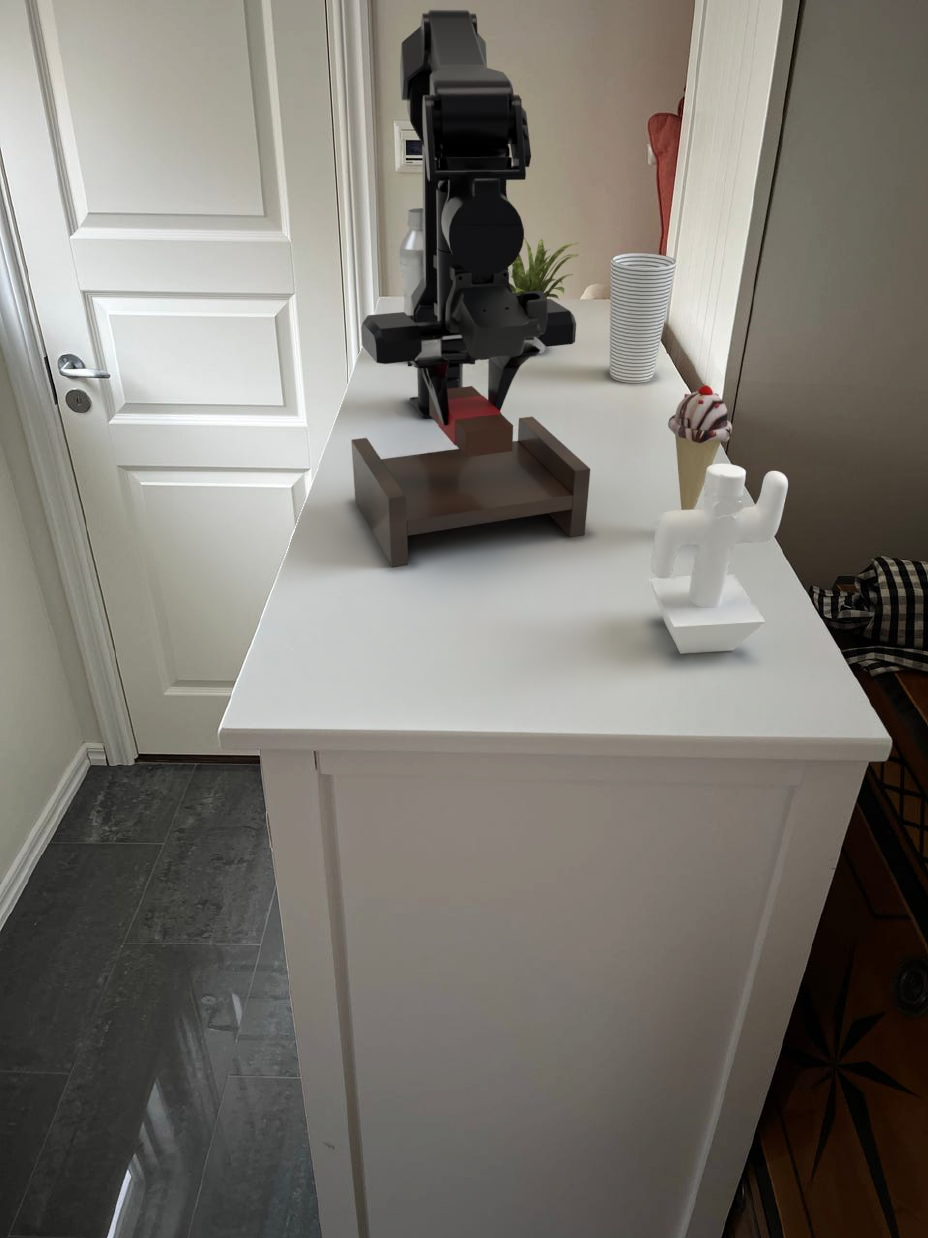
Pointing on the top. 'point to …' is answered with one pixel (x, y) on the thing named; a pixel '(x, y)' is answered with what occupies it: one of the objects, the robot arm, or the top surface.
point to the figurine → (713, 560)
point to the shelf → (469, 488)
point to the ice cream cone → (698, 440)
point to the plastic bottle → (412, 256)
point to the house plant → (538, 275)
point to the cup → (638, 313)
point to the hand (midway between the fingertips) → (468, 420)
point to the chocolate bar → (474, 423)
